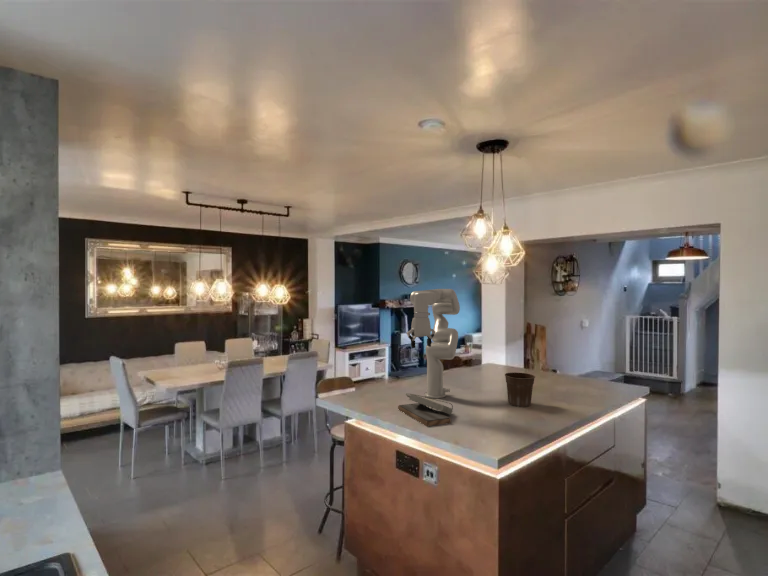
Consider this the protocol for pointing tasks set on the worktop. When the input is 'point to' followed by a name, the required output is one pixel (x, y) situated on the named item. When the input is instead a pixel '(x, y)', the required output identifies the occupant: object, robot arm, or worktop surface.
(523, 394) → the plant pot
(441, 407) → the geiger counter
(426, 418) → the brown wooden board
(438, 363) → the robot arm
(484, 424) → the worktop surface
